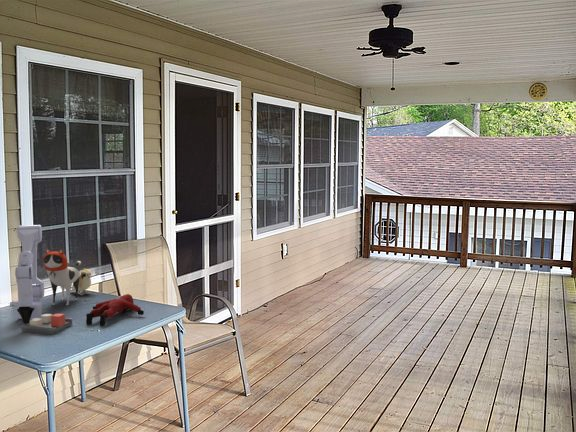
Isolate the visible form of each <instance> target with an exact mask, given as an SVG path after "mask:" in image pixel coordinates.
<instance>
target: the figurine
mask: <svg viewBox="0 0 576 432" xmlns="http://www.w3.org/2000/svg"><path fill="white" fill-rule="evenodd" d="M41 262H42V263H43V264H42V265H43V266H44V270H45V271H46V272H47V276H48V278H49V281H50V285H51V290H52V295H53V296H52V297H53V298H52V299H53V300H52V303H51V305H52V306H55V305H56V295H57V288H58V287H60V289H61V292H62V293H61V299H60V300H61V301H64V300H65V292H66V298H67V301H66V304H65V306H69V305H70V302H69V300H70V295H71V290H72V288H71V287H72V285H73V286H74V287H75V289H76V290H75V297H74V299H73V301H78V295H79V294H78V285H79V279H80V275H81V273H80V271H81V270H80V268H79V266H80V265H81V264H82V261H81V260H76V262H74V263H72V262H68V257H67V256H66V254H64V250H63V249H62V248H60V250H59V251H51V250H50V249H48V248H46V249H45V255H43V259H42V261H41Z"/></svg>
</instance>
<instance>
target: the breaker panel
mask: <svg viewBox="0 0 576 432" xmlns="http://www.w3.org/2000/svg"><path fill="white" fill-rule="evenodd" d="M71 326H73V318H71V317H65V324H64V325H62V326H60V327H58V326H51V322H49V323H42V326H32V325H30V323H28V324H21V333H29V334H41V335H50V336H51V335H54V334H56V333H59V332H61V331H63V330H66V329H67V328H69V327H71Z"/></svg>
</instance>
